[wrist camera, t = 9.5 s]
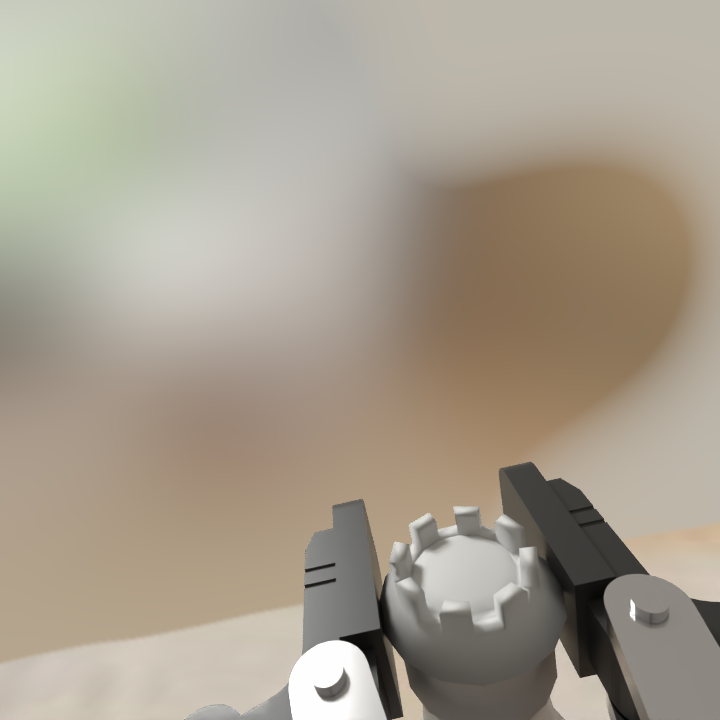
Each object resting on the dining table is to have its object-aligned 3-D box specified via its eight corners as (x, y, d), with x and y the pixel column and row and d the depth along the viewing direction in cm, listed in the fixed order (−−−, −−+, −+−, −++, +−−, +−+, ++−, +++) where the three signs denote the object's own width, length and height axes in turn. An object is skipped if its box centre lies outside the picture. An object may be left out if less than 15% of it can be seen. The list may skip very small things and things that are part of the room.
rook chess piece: (378, 894, 11) (284, 631, 8) (441, 696, 14) (392, 465, 11) (609, 1024, 9) (598, 731, 6) (615, 754, 12) (611, 489, 9)
